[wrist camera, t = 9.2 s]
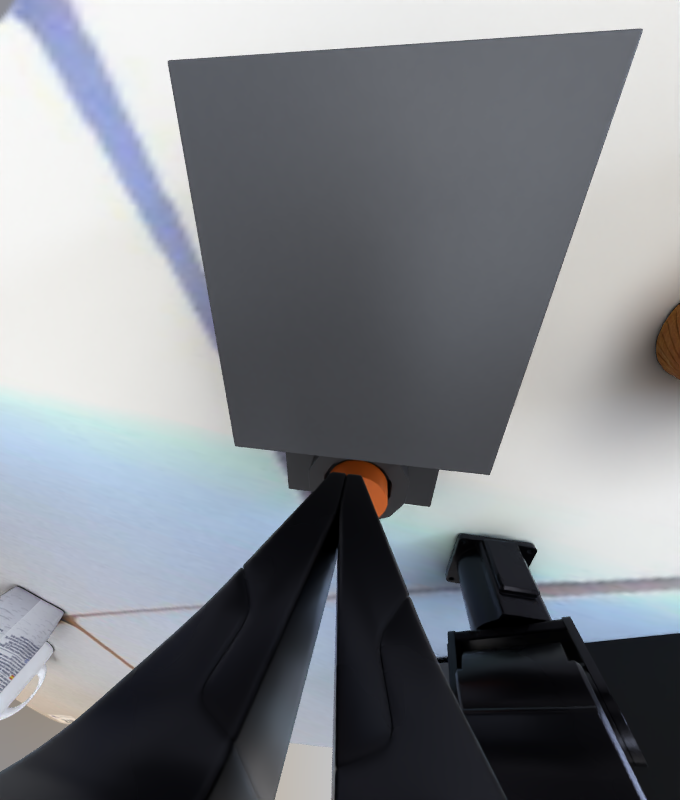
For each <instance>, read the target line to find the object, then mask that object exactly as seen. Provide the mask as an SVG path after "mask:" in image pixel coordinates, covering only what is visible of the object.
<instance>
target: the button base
mask: <svg viewBox="0 0 680 800" xmlns="http://www.w3.org/2000/svg"><path fill="white" fill-rule="evenodd" d="M286 459H287V471H288V484H289V489H297V490H304V491H311V492H313V491H314V490H315V489H316V488H317V487H318V486H319V485H320V484H321V483H322V482H323V481H324V480H325V479H326V477H327V476H328V475H329V474H330V472H331V471H332V469H333V468H334V467H335V466H337V465H338V464H340V463H342V462H344V461H348V460H352V459H344V458H335V457H326V456H317V455H308V454H300V453H291V452H286ZM366 462H369V463H371V464H373V465H375V466H376V467H378V468H379V469H380V470H381V471H382V472H383V474H384V475H385V477H386V479H387V488H388V504H387V508H386V510H385V511H384V513H383V514H382V515H381V516H380V517H379V519H382V518H386V517H389V516H391V515H392V514H393V513H394V512H395V511H396V510H398V509H399V508H400V507H401V506H402V505H403V504H404V503H405V504H412V505H420V506H428V507H430V505H431V501H432V497H433V493H434V489H435V484H436V480H437V476H438V472H439V469H432V468H423V467H414V466H405V465H397V464H388V463H379V462H370V461H366Z"/></svg>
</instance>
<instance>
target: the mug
mask: <svg viewBox="0 0 680 800" xmlns="http://www.w3.org/2000/svg"><path fill="white" fill-rule="evenodd" d="M52 653H53V648H52V646H51V645H50V644H49V643H48V642H45V643H44V644H43V646H42V647H41V648H40V649H39V651H38V652H37V653H36V654H35V655H34V656H33V657H32V659H31V660H30V661H29V662H28V663H27V664H26V665H25V666H24V668H23V669H22V670H21V671H20V672H19V673H18V674H17V675H16V677H15V678H14V679H13V680H12V681H11V682H10V683H9V684H8V686H7V687H6V688H5V689H4V690H3V691H2V692H1V693H0V720H2V719H5V718H7V717H10V716H11V715H13V714H15V713H16V712H18V711H19V710H20V709H22V707H24V706H25V705H26V704H27V703H28V702H29V701H30V700H31V699H32V697H33V696H34V695H35V693H36V692H37V691H38V689H39V688H40V686H41V684H42V683H43V681H44V679H45V676H46V670H47V668H46V665H45V663H46V661H47V660H48V659H49V658H50V656H51V655H52ZM35 675H38V676H39V683H38V686H37V688H36V690H35V691H34V693H33V694H32V695H31V696H30V697H29V698H28V699H27V700H26V701H25V702H23V703H22V704H20V705H19V706H16V707H13V708H8V706H9V705H10V704H11V702H12V701H13V700H14V699H15V698H16V697H17V696H18V694H19V693H20V692H21V691H22V690H23V689H24V687H25V686H26V685H27V684H28V683H29V682H30V680H31V679H32V678H33V677H34V676H35Z"/></svg>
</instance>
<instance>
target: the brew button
mask: <svg viewBox="0 0 680 800" xmlns="http://www.w3.org/2000/svg"><path fill="white" fill-rule="evenodd" d="M332 472H339V473H345V474H346V476H347V474H355V475H361V476H362V478H363V480H364V482H365V485H366V487H367V490H368V492H369V495H370V497H371V500H372V502H373V505H374V508H375V510H376V513H377V515H378V518H379V517H380V516H381V515H382V514H383V513H384V511H385V510H386V508H387V504H388V488H387V479H386V477H385V475H384V474H383V472H382V471H381V470H380V469H379V468H378V467H376V466H375V465H373V464H371V463H369V462H366V461H361V460H348V461H344V462H342V463H340V464H338V465H337V466H335V467H334V468H333V469H332V471H331V472H330V473H332Z"/></svg>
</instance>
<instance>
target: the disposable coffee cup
mask: <svg viewBox="0 0 680 800" xmlns="http://www.w3.org/2000/svg"><path fill="white" fill-rule="evenodd" d="M656 355H657V360H658V362H659V363H660V365H661V366H662V368H663V369H664V370H665V371H666V372H667V373H669V374H670V375H672V376H674V377H676V378H678V379H679V380H680V303H679V305H678V306H677V307H676V308H675V309H674V310H673V311H672V312H671V314H670V315H669V317H668V318H667V320H666V321H665V323H664V324H663V326H662V328H661V330H660V333H659V335H658V338H657V342H656Z"/></svg>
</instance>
